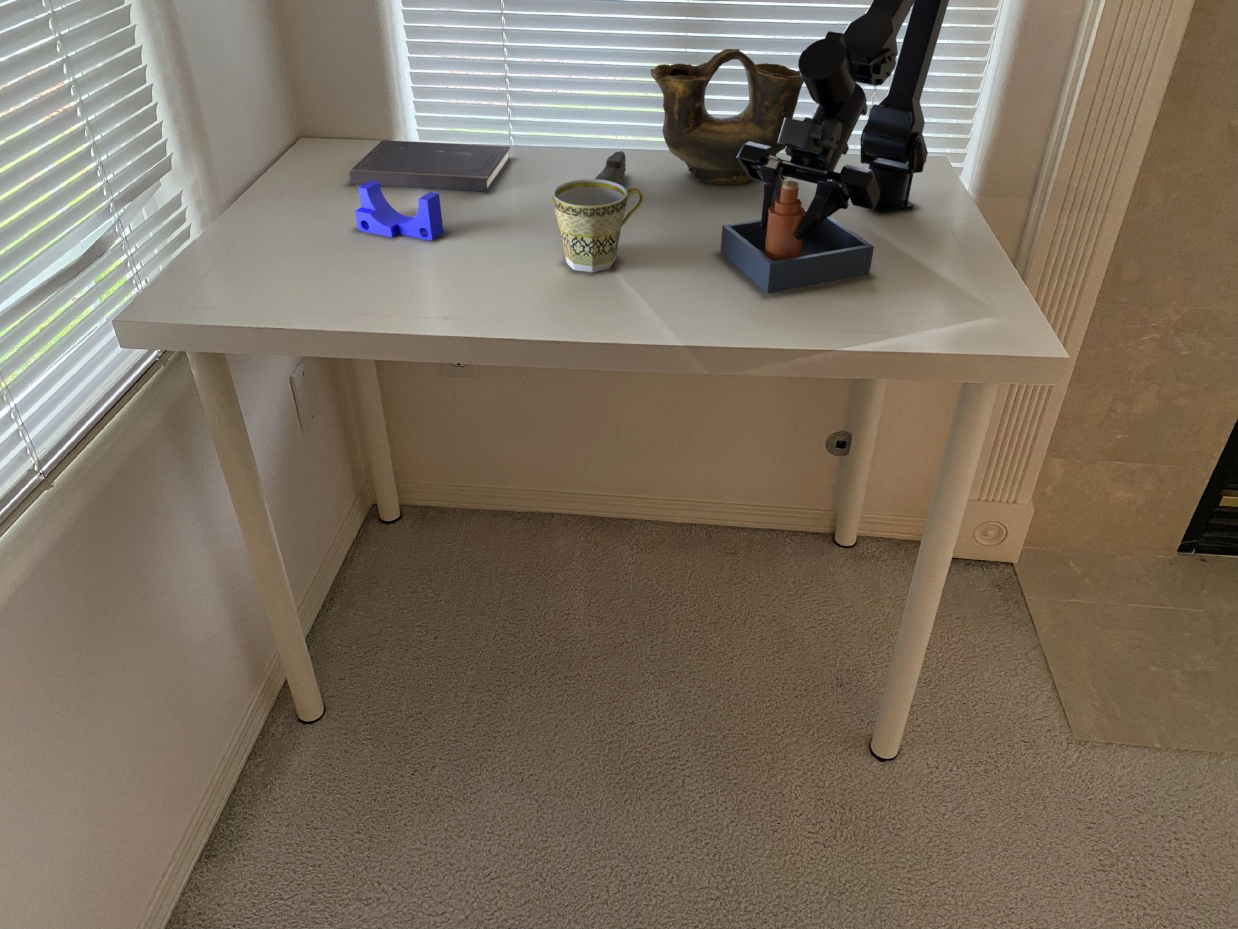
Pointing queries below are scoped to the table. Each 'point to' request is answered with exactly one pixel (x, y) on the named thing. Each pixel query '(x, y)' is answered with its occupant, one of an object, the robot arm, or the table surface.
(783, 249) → the bottle
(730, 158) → the pottery vessel
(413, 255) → the table surface
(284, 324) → the table surface
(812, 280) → the bin
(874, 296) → the table surface
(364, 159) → the hardcover book
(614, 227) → the ceramic cup
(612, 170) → the hand tool
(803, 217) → the robot arm
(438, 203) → the blue mounting bracket
